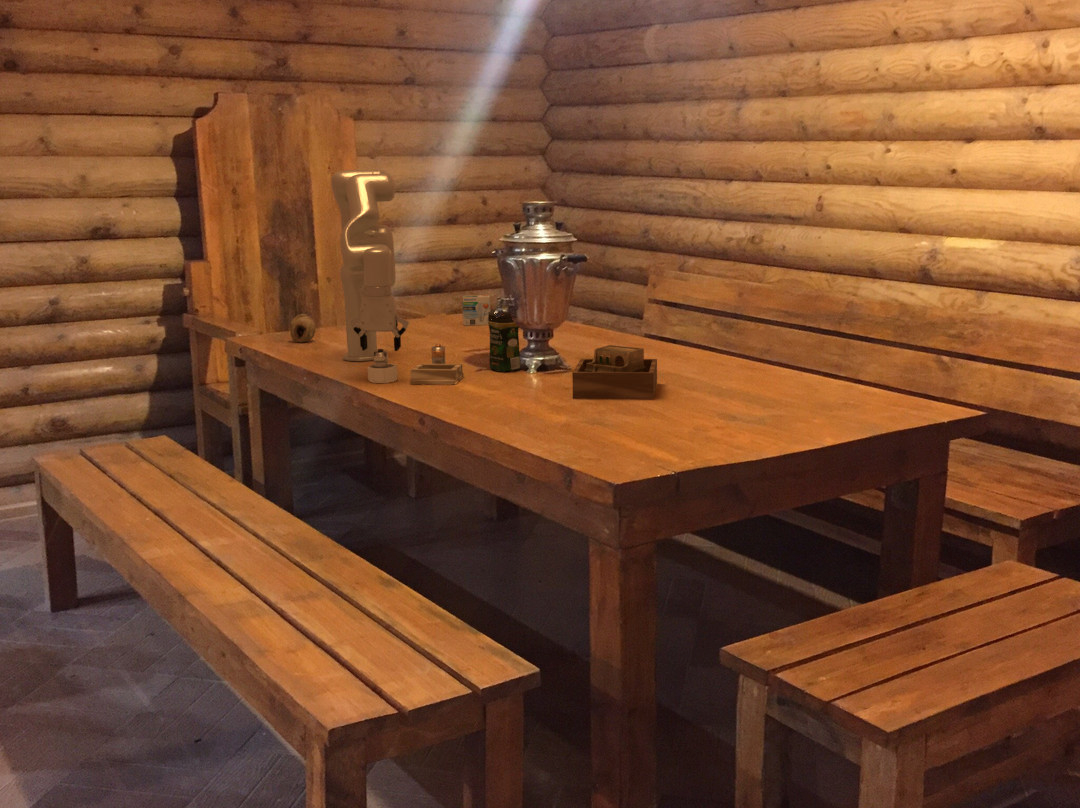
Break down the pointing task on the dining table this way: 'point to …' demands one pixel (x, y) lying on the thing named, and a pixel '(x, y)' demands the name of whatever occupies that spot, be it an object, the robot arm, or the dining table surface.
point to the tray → (436, 374)
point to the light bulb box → (476, 309)
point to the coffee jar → (503, 343)
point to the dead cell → (380, 359)
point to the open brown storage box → (615, 382)
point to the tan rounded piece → (302, 328)
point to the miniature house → (617, 359)
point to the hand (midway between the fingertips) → (380, 349)
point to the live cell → (438, 354)
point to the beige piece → (382, 374)
